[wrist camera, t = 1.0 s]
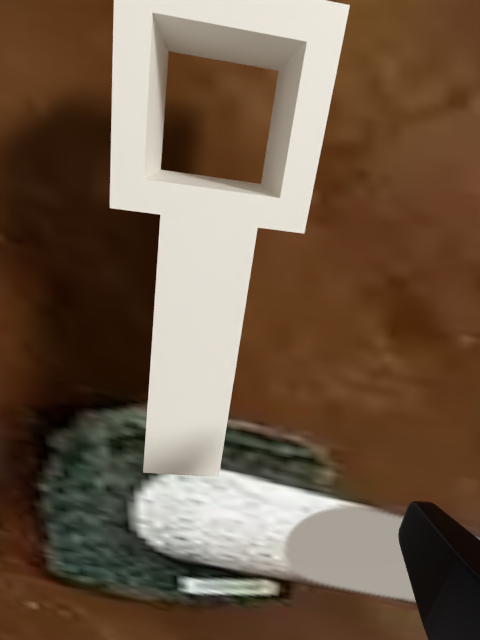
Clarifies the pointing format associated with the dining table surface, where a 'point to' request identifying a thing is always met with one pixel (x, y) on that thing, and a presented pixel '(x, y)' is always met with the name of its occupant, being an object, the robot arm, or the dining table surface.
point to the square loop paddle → (212, 195)
